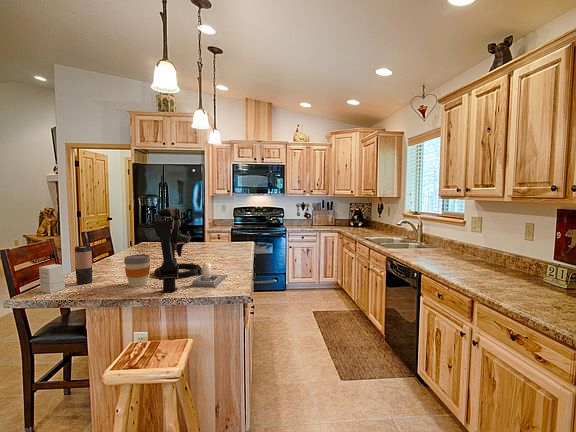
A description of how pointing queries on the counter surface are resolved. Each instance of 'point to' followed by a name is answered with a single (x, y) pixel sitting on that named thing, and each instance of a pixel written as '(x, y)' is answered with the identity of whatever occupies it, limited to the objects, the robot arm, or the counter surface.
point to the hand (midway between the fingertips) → (176, 258)
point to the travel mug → (83, 264)
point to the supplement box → (51, 278)
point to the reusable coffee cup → (137, 269)
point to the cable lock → (197, 271)
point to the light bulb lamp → (207, 272)
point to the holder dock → (216, 281)
